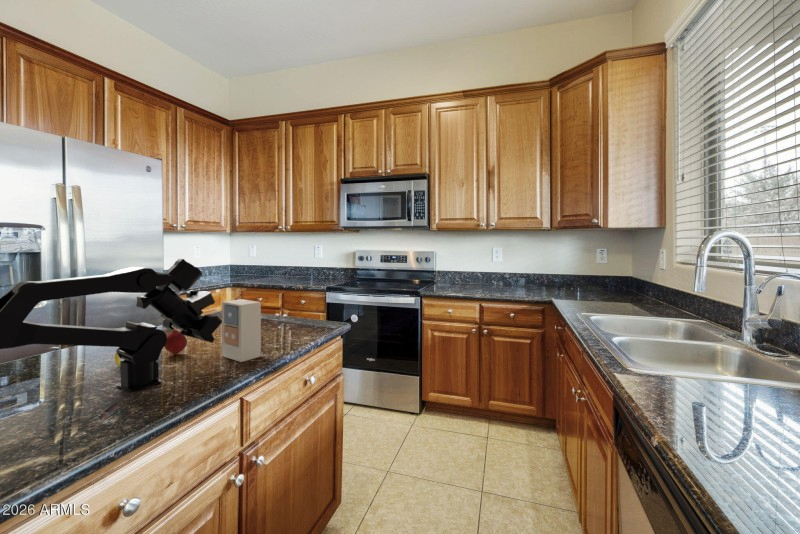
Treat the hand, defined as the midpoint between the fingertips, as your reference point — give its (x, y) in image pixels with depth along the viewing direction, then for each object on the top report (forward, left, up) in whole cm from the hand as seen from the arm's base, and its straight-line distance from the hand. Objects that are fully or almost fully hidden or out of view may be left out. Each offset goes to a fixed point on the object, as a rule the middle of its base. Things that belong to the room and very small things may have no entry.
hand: (212, 341), depth 100 cm
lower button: (+6, -1, -2) cm, 7 cm away
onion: (0, +17, -7) cm, 18 cm away
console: (+10, -1, -7) cm, 12 cm away
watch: (-12, +18, -7) cm, 22 cm away
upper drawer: (+6, -1, +4) cm, 8 cm away
